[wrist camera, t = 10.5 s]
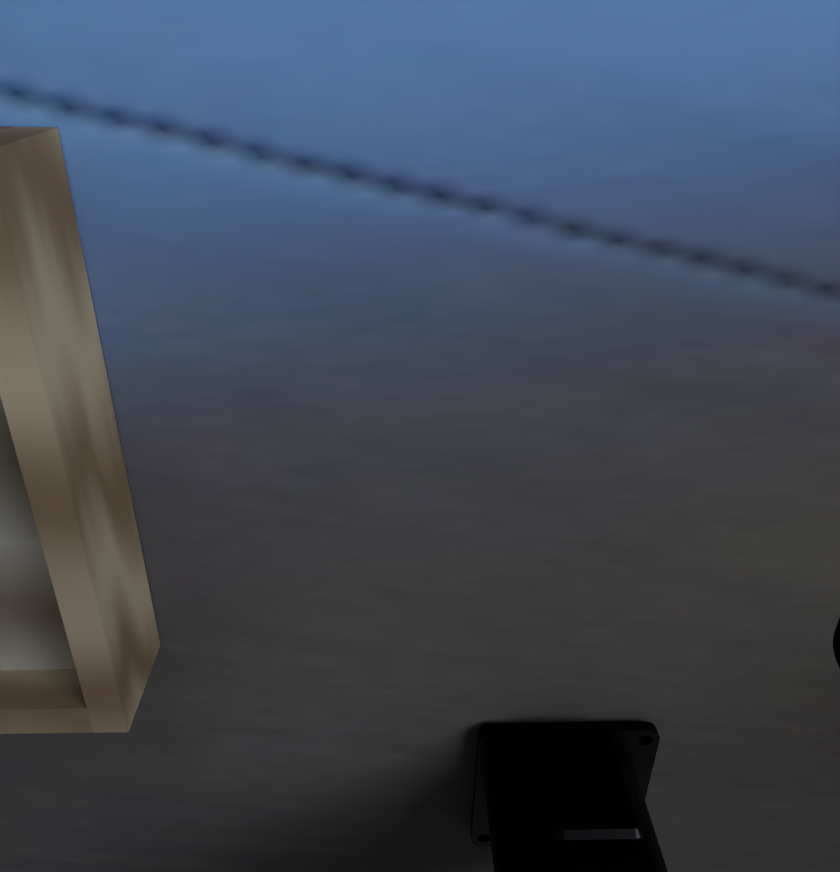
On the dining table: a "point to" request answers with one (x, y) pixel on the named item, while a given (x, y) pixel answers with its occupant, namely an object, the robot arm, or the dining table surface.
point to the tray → (61, 474)
